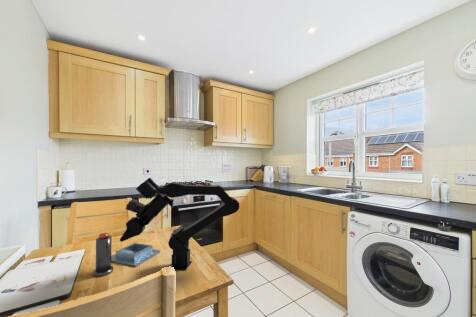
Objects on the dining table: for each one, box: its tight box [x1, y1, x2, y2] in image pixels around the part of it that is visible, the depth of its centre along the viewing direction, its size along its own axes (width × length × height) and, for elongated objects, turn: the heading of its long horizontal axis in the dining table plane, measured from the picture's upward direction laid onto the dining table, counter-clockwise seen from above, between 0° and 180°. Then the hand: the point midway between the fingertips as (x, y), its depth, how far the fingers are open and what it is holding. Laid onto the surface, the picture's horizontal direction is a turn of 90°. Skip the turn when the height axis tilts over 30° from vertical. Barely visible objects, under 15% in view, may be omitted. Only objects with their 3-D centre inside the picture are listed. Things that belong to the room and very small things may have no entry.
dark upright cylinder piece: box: [92, 232, 114, 278], centre depth 79 cm, size 6×6×14 cm
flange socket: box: [111, 242, 161, 268], centre depth 92 cm, size 16×14×4 cm
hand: (124, 236), depth 80 cm, fingers open, 9 cm apart
